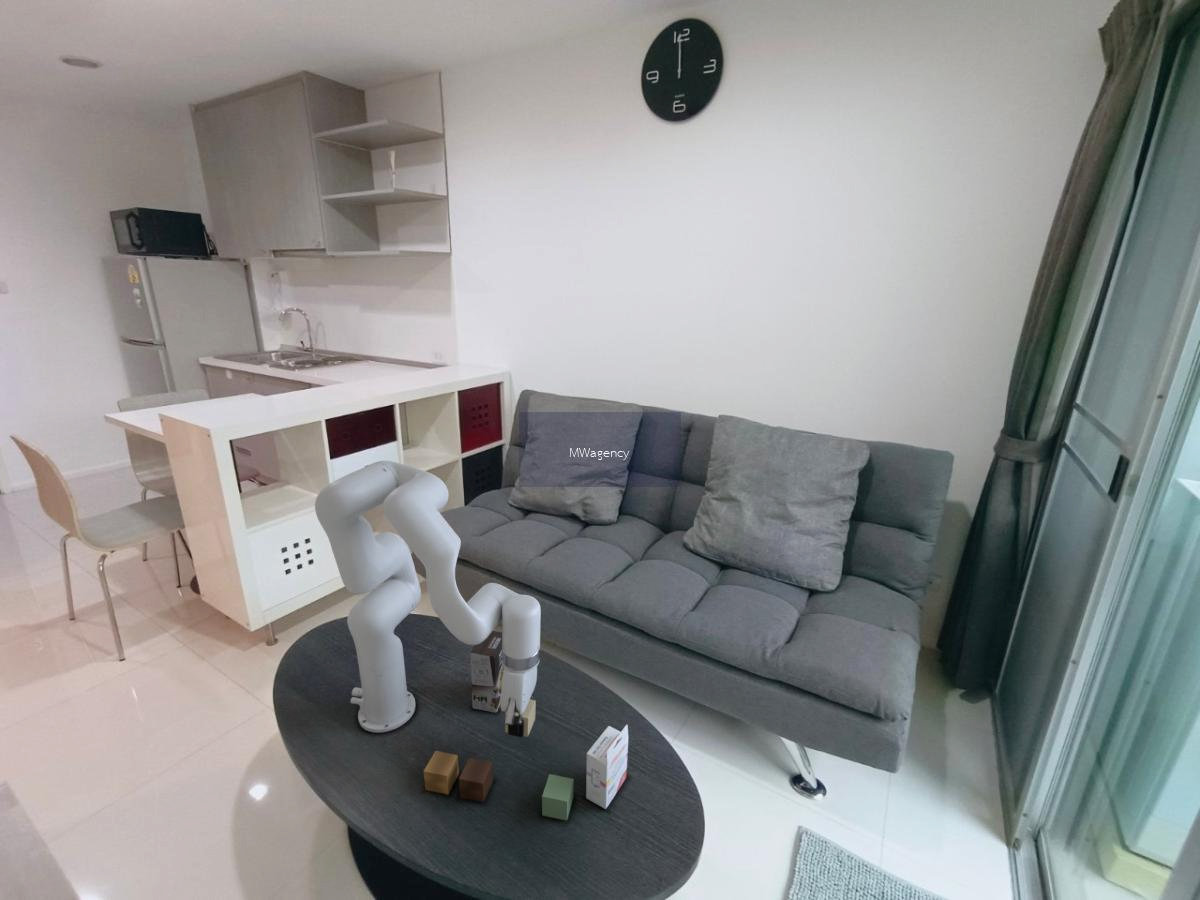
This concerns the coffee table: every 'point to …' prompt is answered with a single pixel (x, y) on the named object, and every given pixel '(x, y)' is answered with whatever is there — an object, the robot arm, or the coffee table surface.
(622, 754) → the ink cartridge box
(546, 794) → the sage block
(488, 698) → the coffee box
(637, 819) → the coffee table surface
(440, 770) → the honey block
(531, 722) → the cream block
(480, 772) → the walnut block
